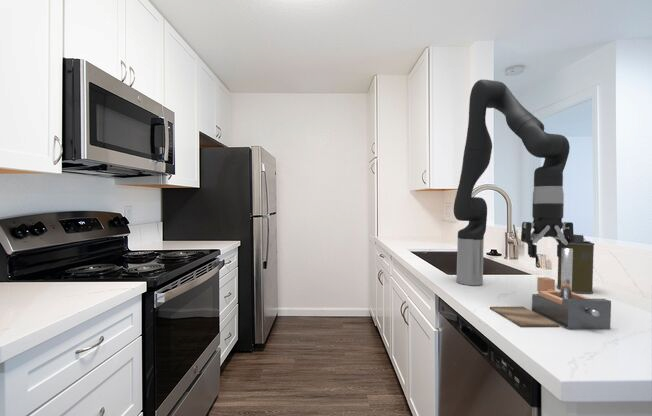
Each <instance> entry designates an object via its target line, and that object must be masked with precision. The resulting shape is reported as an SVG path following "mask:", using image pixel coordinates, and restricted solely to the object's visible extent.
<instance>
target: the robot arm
mask: <svg viewBox="0 0 652 416" xmlns="http://www.w3.org/2000/svg"><path fill="white" fill-rule="evenodd" d="M468 103H469V105H468V122H467V123H468V124H467V129H466V130H467V131H466V138H465V145H464V150H463V156H462V157H463V158H462V165H461V171H460V177H459V182H458V187H457V191H456V194H455V198H454V202H453V216H454V218H455V219H456V220H457V221H459V222H460V221H462V222H468V224H467V225H466V227H463V228H461V229H459V230H458V231H457V251H456V253H457V254H456V256H457V257H456V282H457V283H458V284H461V285H465V286H476V287H477V286H482V285H483V284H484V247H485V246H484V244H485V243H484V239H485V233H486V230H487V221H488V219H487V218H488V205H487V202H486V200H485V199H484V198H482V197H480V196H478V197H477V196H472V194H473V191H474V187H475V186H476V183H477V182H478V180H479V179H480V178H481V177H482V175H484V173H485V171H486V170H487V169H488V167H489V165H490V162H491V158H492V152H493V151H492V150H493V142H492V138H491V135H490V133H489V130H488V126H487V123H486V118H487V117H486V115H487V109H495V110H497V111H499V113H501V114H503V115H504V117H505V122H506V125H507V126H508V128H509V129H510V130H511V131H512V132H513V133H514V134H515V136H517V137H518V138H520V139H521V142H522V144H523V146H524V147H525V150H527V152H528V153H529V154H531V155H532V156H533V157H536V158H539V159H544V161H543V164H542V166H539V167H537V168H535V169H534V171H533V172H534V173H533V191H532V209H531V210H532V218H533V219H532V220H533V221H532V222H531V221H523V222H522V223H521V234H520V241H521V242H522V243H526V244H527V254H528V256H529V258H533V259H536V258H537V257H538V256H537V255H538V254H537V253H538V250H537V249H538V245H537V243H538V242H539V240H542V238H549V237H550V238H552V239H554V240H555V241H556V243H557V244H556V257H560V258H562V248H566V246H567V244H569V243H573V242H574V223H573V222H571V221H570V222H569V221H562V220H563V219H564V207H565V206H564V205H565V203H564V199H565V198H564V197H565V196H564V187H563V186H564V170H565V169H566V168H565V167H566V164H567V161H568V158H569V154H570V149H571V147H570V142H569V140H568V138H567V137H566V136H565V135H562V134H556V133H548V132H546V131H545V125H544V123H543V122H542V121H541V120H540V119H538V118H537V117H536V116H535V115H534V114H533V113H531V112H530V111H529V110H528V109H527V108H525V107H524V106H523V105H522V104H521V102H520V101H519V100H518V99H517V98H516V97H515V95H514V94H513V93H512V92H511V90H510V89H509V88H508V86H507V84H505V83H503V81H498V80H491V79H479V80H477V81H476V82H474V84H473V86H472V88H471V90H470V95H469V102H468Z"/></svg>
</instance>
